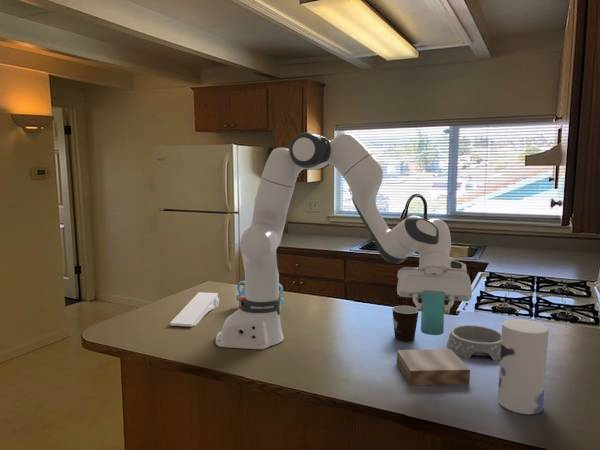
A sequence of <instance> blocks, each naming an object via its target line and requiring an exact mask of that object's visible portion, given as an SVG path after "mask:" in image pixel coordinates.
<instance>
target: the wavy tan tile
mask: <svg viewBox="0 0 600 450" xmlns="http://www.w3.org/2000/svg"><path fill="white" fill-rule="evenodd" d="M396 364H397V366H398V368H399V369H400V370H401V373H402V374H403V376H404V377H405V379H406V381H407V382H408V384H409V386H435V385H437V386H438V385H439V386H441V385H442V386H443V385H444V386H445V385H470V381H471V378H470V377H471V369H470V368H469V366H467V365H466V364H465V363H464V362H463V360H462V359H461V358H460V356H459V355H457V354H455V353H454V352H453V351H452V350H451V349H448V348H443V349H442V348H441V349H439V348H438V349H437V348H436V349H435V348H434V349H397V350H396Z"/></svg>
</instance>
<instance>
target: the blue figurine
mask: <svg viewBox="0 0 600 450" xmlns="http://www.w3.org/2000/svg"><path fill="white" fill-rule="evenodd" d="M241 284H244V285H243V287H242V289H241ZM283 287H284V286H283V285H282V284H281V283H279V297H280V301H281V305H284V303H285V300H284V298H283V297H282V295H283V291H284V288H283ZM236 289H237V293H238V294H237V296H236V301H237V302H239V297H240V296H244V297H245V280H241V281H239V282H238V283H237V284H236Z"/></svg>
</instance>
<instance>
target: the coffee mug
mask: <svg viewBox="0 0 600 450" xmlns="http://www.w3.org/2000/svg"><path fill="white" fill-rule="evenodd" d="M391 311H392V320H393V331H394V332H393V333H394V339H395V340H396V341H399V342H403V343H404V342H405V343H410V342H414V340H415V338H416V337H415V336H416V331H417V323H418V319H419V312H420V311H416V306H415V307H414V306H411V305H397V306H393V307H392V309H391Z"/></svg>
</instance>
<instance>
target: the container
mask: <svg viewBox="0 0 600 450" xmlns="http://www.w3.org/2000/svg"><path fill="white" fill-rule="evenodd" d="M549 330H550V329H549V327H548V326H547V325H544V324H543V323H540V322H538V321H533V320H528V319H519V318H516V319H515V318H514V319H513V318H511V319H506V320H504V321H503V322H502V323H501V333H502V337H501V354H500V359H499V372H498V390H497V402H498V404H500V406H502V407H503V408H504V409H506V410H509V411H511V412H514V413H516V414H517V413H518V414H520V415H521V414H522V415H537V414H539V413H541V412H543V409H544V399H545V388H546V387H545V384H546V373H547V372H546V369H547V357H548V355H547V354H548V347H549V346H548V343H549Z"/></svg>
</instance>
